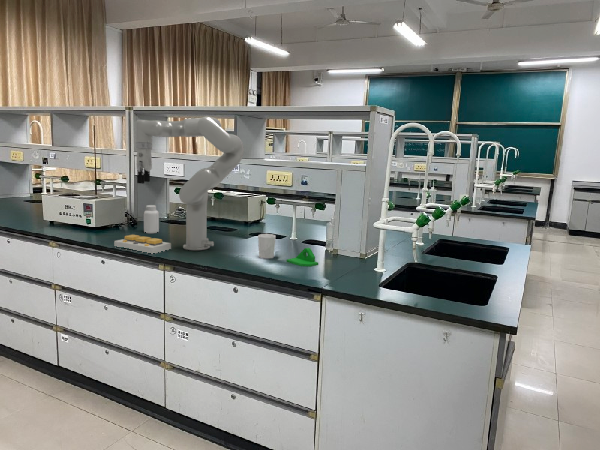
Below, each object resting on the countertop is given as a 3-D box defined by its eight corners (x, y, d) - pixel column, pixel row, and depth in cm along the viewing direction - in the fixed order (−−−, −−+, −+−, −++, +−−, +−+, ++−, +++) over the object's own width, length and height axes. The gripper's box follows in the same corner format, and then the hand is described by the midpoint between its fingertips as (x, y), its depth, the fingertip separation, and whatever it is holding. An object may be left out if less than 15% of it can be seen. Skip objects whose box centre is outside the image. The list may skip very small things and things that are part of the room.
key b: (151, 243, 214) (151, 237, 213) (143, 245, 209) (143, 239, 209) (143, 242, 216) (143, 236, 216) (135, 243, 212) (135, 238, 211)
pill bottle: (147, 234, 245) (146, 207, 243) (141, 231, 251) (141, 205, 249) (161, 232, 250) (160, 206, 248) (155, 230, 256) (155, 204, 254)
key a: (162, 245, 211) (162, 239, 210) (154, 247, 206) (154, 241, 206) (154, 243, 213) (154, 238, 212) (146, 245, 209) (146, 239, 208)
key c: (140, 241, 217) (140, 235, 216) (132, 243, 212) (132, 237, 212) (132, 240, 219) (132, 234, 219) (124, 241, 215) (124, 236, 214)
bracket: (286, 262, 198) (287, 247, 197) (299, 259, 204) (299, 245, 203) (305, 268, 190) (306, 252, 189) (318, 265, 195) (319, 250, 194)
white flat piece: (170, 249, 213) (170, 241, 212) (152, 254, 202) (152, 246, 202) (134, 242, 223) (133, 235, 223) (114, 247, 213) (114, 239, 212)
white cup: (255, 255, 208) (256, 234, 206) (272, 254, 211) (272, 233, 209) (260, 259, 201) (260, 237, 199) (277, 258, 203) (277, 237, 202)
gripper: (147, 147, 205) (146, 184, 208) (156, 146, 222) (155, 181, 225) (130, 146, 204) (130, 183, 207) (140, 145, 221) (140, 180, 224)
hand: (143, 182), depth 216 cm, fingers open, 9 cm apart
